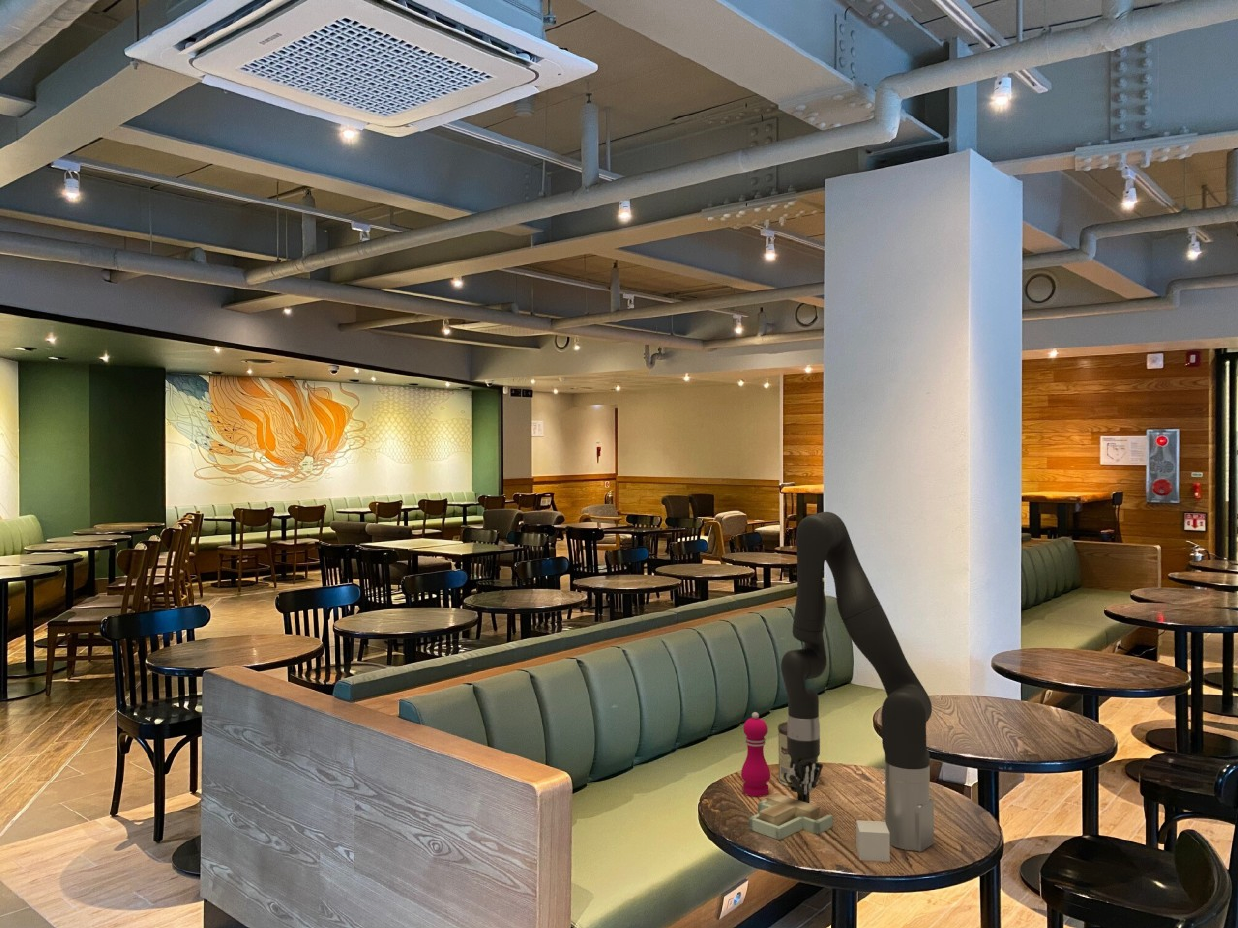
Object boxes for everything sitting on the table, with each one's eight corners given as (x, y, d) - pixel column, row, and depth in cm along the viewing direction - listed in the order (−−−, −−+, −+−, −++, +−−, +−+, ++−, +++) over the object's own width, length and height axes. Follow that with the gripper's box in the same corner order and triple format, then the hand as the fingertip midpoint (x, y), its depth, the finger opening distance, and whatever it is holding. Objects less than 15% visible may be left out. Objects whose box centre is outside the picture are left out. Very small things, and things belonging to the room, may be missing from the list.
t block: (820, 824, 202) (819, 806, 202) (788, 839, 193) (788, 821, 193) (776, 809, 210) (776, 792, 210) (745, 824, 202) (745, 806, 202)
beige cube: (859, 860, 183) (859, 831, 184) (856, 848, 189) (855, 820, 189) (889, 862, 183) (889, 832, 183) (885, 849, 189) (884, 821, 189)
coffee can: (823, 778, 231) (823, 724, 231) (811, 791, 222) (811, 734, 222) (785, 771, 236) (785, 718, 236) (772, 783, 227) (772, 729, 227)
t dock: (832, 826, 201) (832, 815, 201) (794, 845, 190) (794, 834, 190) (773, 806, 212) (773, 796, 212) (734, 823, 202) (734, 812, 202)
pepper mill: (767, 798, 217) (767, 717, 217) (738, 795, 220) (738, 714, 220) (772, 788, 224) (772, 709, 224) (744, 785, 226) (743, 707, 226)
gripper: (800, 744, 200) (800, 821, 200) (833, 731, 209) (833, 805, 209) (773, 736, 205) (773, 811, 206) (806, 724, 214) (806, 796, 215)
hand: (803, 808), depth 207 cm, fingers closed
